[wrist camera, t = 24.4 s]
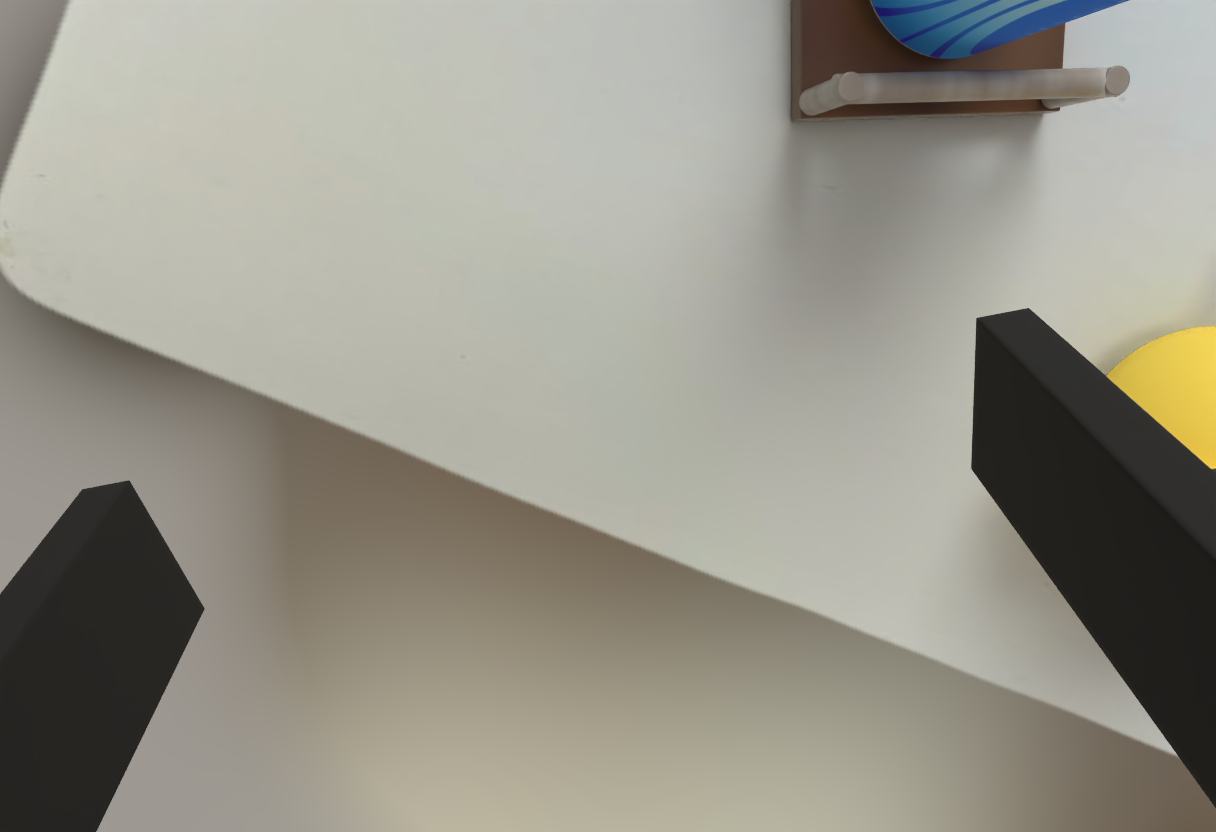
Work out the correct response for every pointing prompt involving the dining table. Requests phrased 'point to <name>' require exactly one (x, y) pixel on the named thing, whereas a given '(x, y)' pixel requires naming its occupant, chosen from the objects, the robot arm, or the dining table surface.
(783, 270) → the dining table surface
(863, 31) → the rail rack
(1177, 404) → the teapot
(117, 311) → the dining table surface
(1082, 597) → the robot arm
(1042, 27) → the beer can
